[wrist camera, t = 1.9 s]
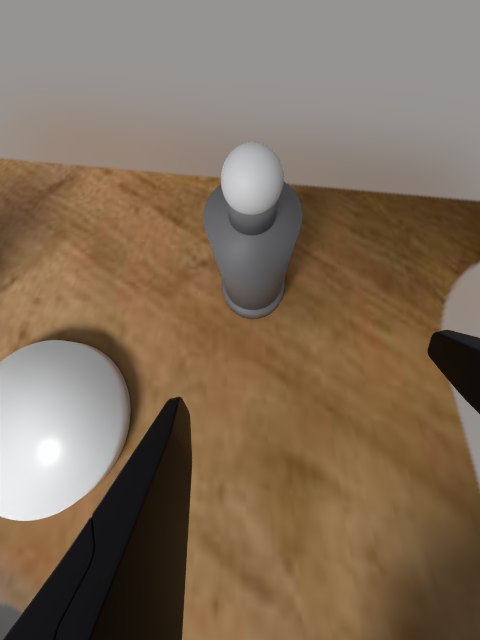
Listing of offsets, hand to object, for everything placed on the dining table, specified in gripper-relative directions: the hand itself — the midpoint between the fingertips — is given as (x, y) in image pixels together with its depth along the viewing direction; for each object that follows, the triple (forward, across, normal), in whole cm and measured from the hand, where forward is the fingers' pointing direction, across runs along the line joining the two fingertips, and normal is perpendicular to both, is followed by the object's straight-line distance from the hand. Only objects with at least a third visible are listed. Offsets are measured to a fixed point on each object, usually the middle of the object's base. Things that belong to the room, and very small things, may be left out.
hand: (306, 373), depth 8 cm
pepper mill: (+15, 0, +3) cm, 15 cm away
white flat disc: (+9, +20, +8) cm, 24 cm away
